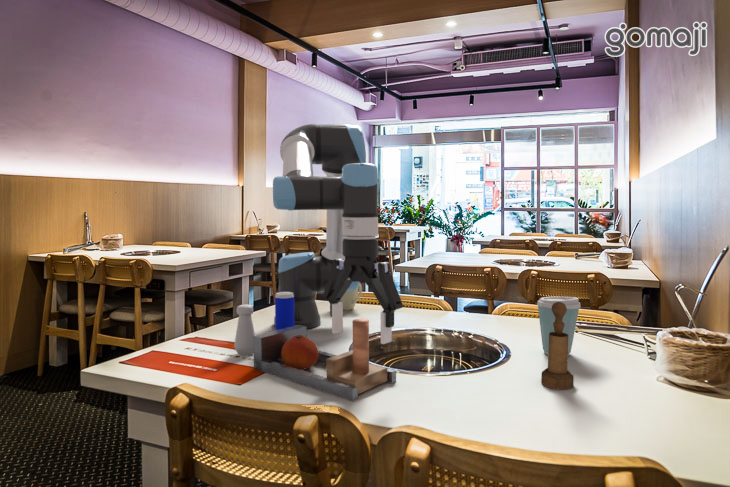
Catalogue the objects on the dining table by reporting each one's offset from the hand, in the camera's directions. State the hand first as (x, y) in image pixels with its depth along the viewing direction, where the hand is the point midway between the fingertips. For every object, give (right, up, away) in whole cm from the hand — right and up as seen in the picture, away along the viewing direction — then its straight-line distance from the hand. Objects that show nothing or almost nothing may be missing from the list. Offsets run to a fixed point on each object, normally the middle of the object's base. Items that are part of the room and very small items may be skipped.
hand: (360, 337), depth 108 cm
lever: (-1, -10, +2) cm, 10 cm away
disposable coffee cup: (+51, -9, +25) cm, 58 cm away
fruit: (-15, -10, +13) cm, 22 cm away
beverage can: (-21, -9, +32) cm, 39 cm away
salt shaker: (-31, -9, +25) cm, 41 cm away
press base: (-9, -10, +9) cm, 16 cm away
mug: (-5, -5, +82) cm, 82 cm away
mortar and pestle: (+43, -11, +2) cm, 44 cm away
